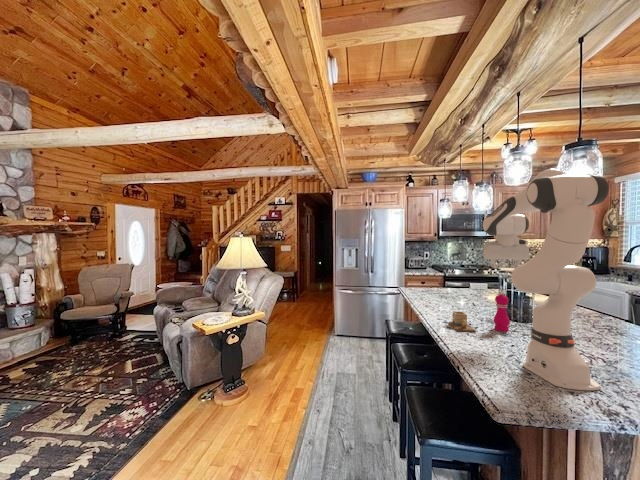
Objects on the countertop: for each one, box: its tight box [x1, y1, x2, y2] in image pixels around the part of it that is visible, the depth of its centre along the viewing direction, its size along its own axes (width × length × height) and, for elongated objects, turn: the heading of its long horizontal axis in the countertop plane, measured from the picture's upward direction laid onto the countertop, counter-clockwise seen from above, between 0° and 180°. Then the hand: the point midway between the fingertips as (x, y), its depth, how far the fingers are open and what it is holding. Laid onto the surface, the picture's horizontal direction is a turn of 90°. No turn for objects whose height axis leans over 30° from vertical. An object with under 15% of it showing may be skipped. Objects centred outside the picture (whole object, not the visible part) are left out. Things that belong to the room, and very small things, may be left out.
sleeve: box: [452, 310, 468, 326], centre depth 157 cm, size 6×6×6 cm
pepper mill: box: [493, 291, 511, 333], centre depth 150 cm, size 7×7×20 cm
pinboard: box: [448, 320, 477, 333], centre depth 154 cm, size 14×9×5 cm, turn 172°
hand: (505, 268), depth 144 cm, fingers open, 8 cm apart
